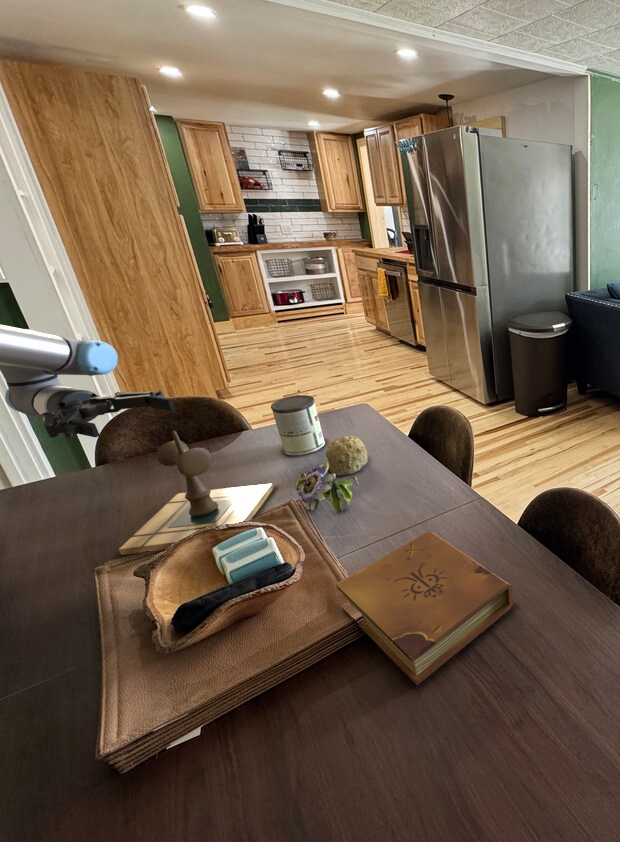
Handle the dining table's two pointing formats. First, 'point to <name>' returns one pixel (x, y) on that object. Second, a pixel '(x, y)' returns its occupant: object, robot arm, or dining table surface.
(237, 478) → the dining table surface
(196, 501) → the kendama
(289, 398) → the coffee can
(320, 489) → the passion flower
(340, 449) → the rock
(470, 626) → the diary
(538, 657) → the dining table surface
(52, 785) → the dining table surface
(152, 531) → the board
